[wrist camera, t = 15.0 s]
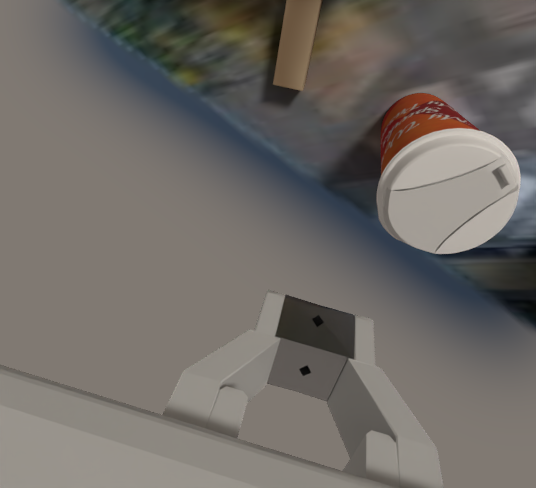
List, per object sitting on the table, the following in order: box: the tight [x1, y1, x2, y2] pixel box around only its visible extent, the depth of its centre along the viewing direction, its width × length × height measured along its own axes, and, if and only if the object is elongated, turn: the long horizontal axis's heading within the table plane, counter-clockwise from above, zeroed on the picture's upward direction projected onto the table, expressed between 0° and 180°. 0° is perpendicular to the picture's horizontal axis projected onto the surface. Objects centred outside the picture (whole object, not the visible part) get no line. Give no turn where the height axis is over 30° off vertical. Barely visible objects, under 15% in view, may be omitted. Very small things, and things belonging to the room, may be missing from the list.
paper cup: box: [376, 93, 521, 254], centre depth 27 cm, size 8×8×14 cm
